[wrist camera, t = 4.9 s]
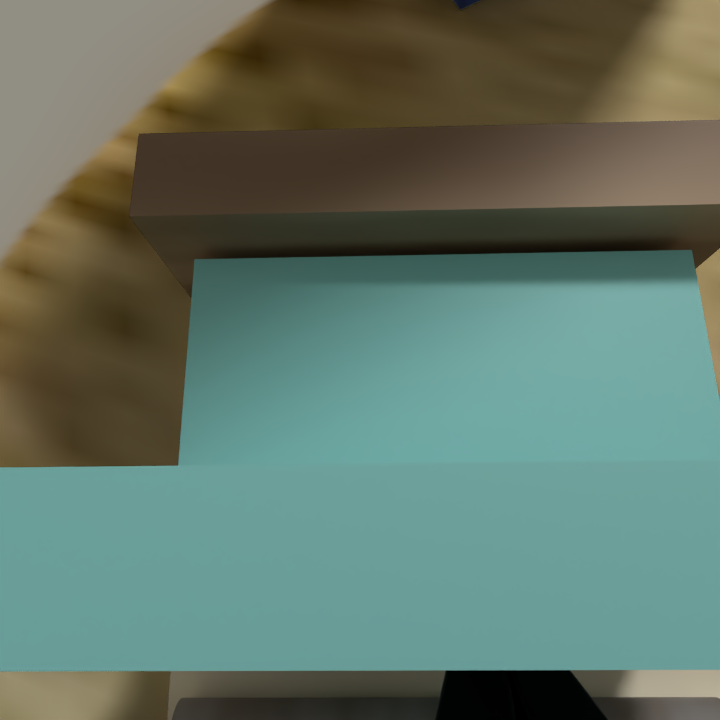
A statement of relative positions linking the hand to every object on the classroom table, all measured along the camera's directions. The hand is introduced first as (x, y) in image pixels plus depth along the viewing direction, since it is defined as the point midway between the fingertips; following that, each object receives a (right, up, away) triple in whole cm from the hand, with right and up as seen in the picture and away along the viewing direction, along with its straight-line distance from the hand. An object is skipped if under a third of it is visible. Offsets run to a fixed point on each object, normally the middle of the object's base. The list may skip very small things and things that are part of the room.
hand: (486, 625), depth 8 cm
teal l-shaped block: (0, +2, +6) cm, 6 cm away
